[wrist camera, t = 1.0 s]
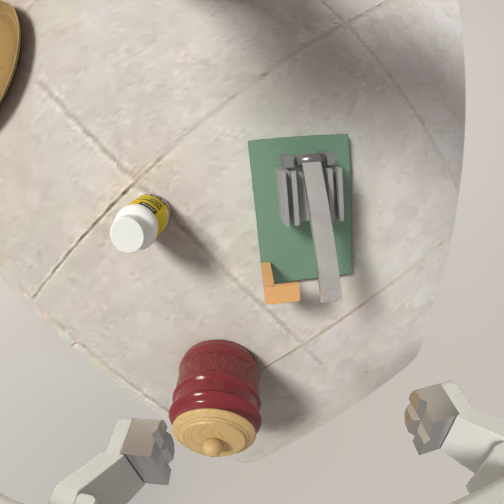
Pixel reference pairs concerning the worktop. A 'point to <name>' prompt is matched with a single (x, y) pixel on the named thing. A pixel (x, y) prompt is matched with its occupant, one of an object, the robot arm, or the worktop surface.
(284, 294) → the bracket
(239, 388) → the canister
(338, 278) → the strap
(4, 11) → the plant saucer
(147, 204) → the supplement bottle
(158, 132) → the worktop surface
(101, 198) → the worktop surface
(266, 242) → the heatsink base
